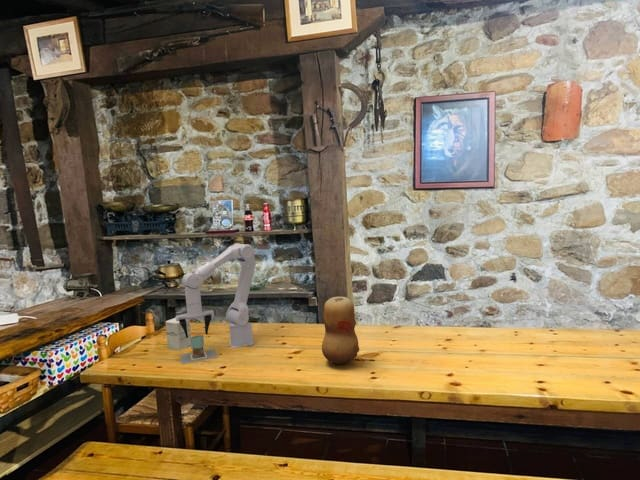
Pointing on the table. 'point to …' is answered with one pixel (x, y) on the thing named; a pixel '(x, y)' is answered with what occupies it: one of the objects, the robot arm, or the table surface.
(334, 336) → the butternut squash
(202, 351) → the walnut block
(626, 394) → the table surface
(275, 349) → the table surface
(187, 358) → the slate board
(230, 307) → the robot arm
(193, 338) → the teal block
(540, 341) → the table surface
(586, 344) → the table surface
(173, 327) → the supplement box
